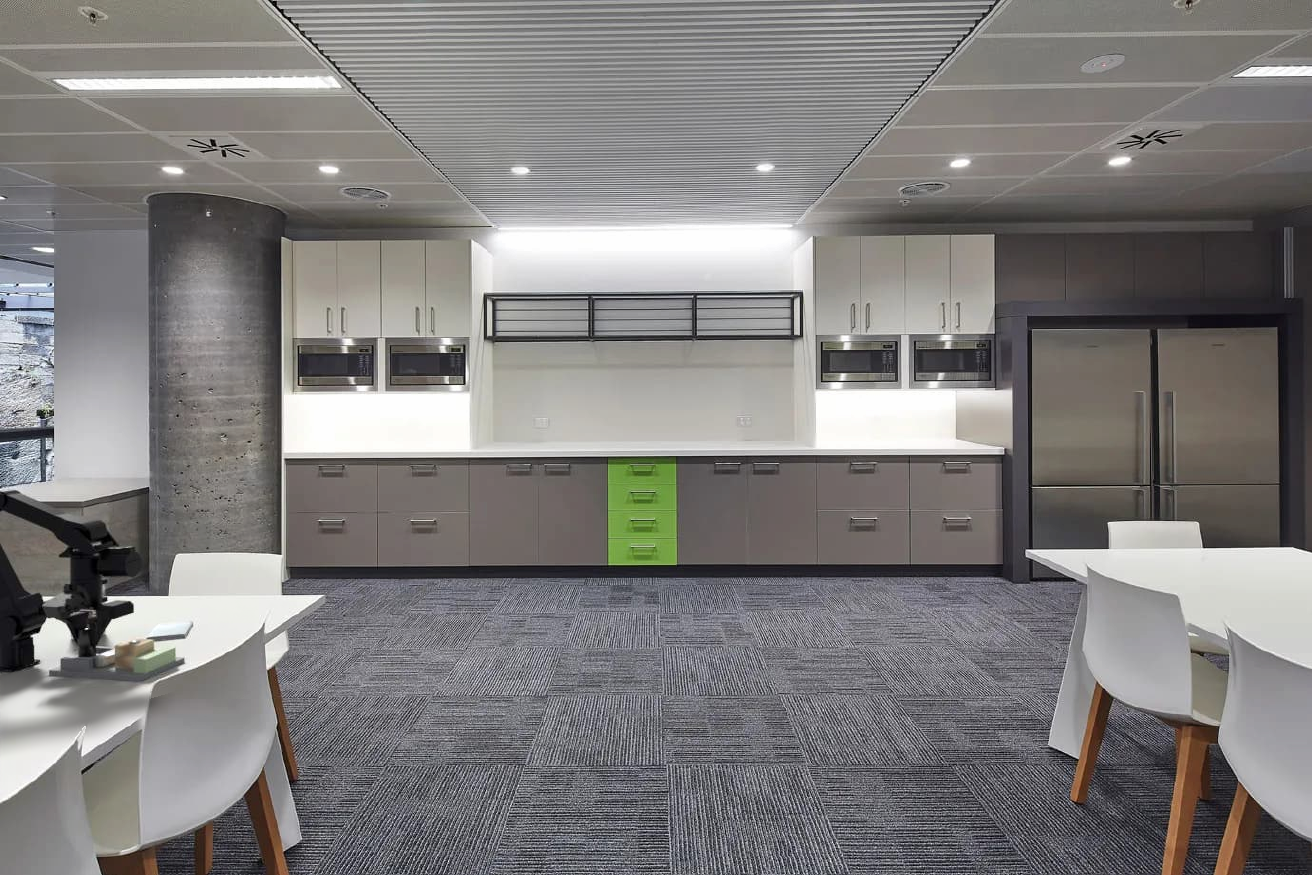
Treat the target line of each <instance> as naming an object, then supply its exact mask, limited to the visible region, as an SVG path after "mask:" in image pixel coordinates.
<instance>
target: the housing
mask: <svg viewBox="0 0 1312 875" xmlns="http://www.w3.org/2000/svg"><path fill="white" fill-rule="evenodd" d="M114 647H115V668H119V669H134V658H136V657H139V656H141V655H144V654H146V653H149V652H151V651H154V650H155V641H154V640H150V639H146V638H132V639H129V640H126V641H124V642H120V643H118V644H115V645H114Z"/></svg>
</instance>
